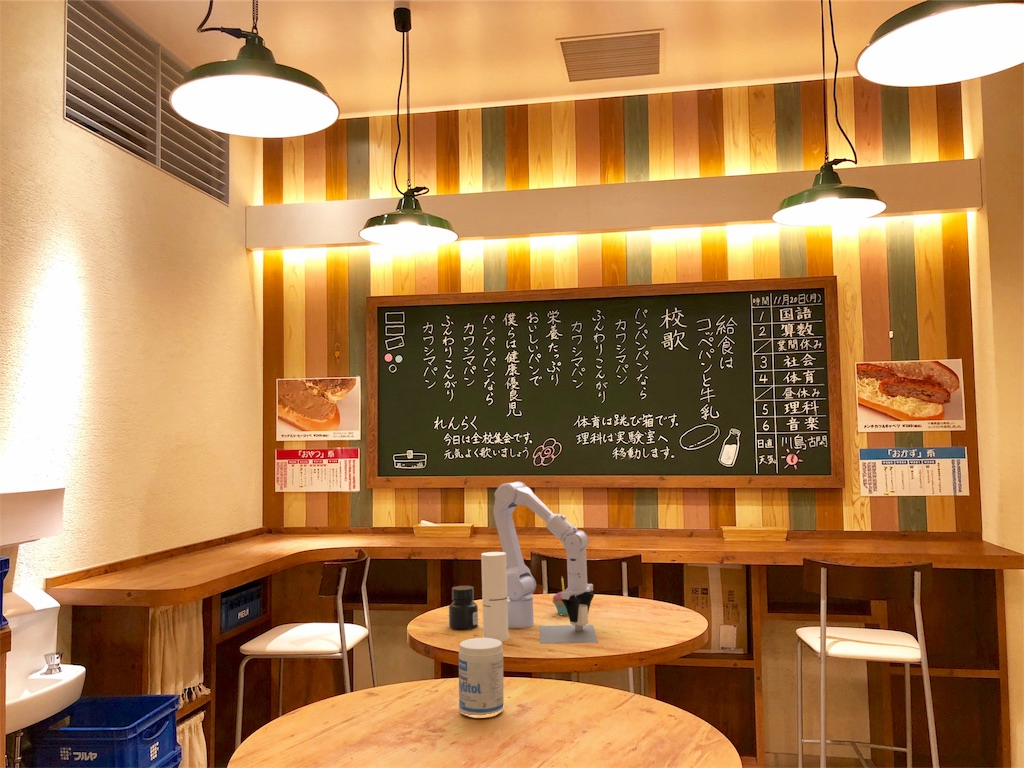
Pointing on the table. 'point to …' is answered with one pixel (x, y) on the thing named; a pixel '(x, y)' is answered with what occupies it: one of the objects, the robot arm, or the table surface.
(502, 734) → the table surface
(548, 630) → the duct board
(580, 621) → the sleeve
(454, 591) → the ink bottle
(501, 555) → the cylindrical container
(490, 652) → the supplement tub
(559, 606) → the cupcake
